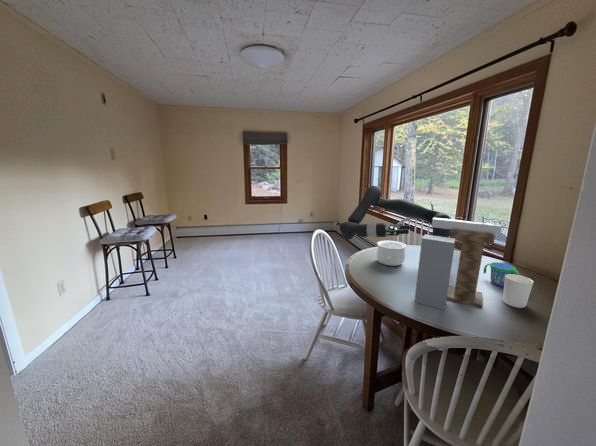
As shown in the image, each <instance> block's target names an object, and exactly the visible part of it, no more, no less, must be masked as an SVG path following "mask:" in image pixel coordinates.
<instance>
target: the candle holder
mask: <svg viewBox="0 0 596 446" xmlns="http://www.w3.org/2000/svg"><path fill="white" fill-rule="evenodd" d="M533 284H534V280H533V279H531V278H529V277H526V276H524V275H521V274H520V275H517V274H516V273H514V274H507V275H505V282H504V286H503V291H502V302H503V303H504V304H506V305H508V306H511V307H514V308H517V309H518V308H519V309H522V308H526V306H527V304H528V301H529V298H530V294H531V291H532V288H533Z"/></svg>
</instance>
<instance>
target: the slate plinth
mask: <svg viewBox="0 0 596 446" xmlns="http://www.w3.org/2000/svg"><path fill="white" fill-rule="evenodd" d="M455 244H456V239H455V238H448V237H441V236H434V235H431V234H424V235H423V236H422V237H421V244H420V253H419V260H418V268H417V276H416V285H415V286H416V287H415V295H414V302H415V303H416V304H420V305H425V306H428V307H431V308H436V309H439V310H442V311H445V309H446V304H447V301H448V300H447V293H448V286H449V285H450V279H451V272H452V266H453V265H452V264H453V258H454V251H455Z"/></svg>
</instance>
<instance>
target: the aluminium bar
mask: <svg viewBox="0 0 596 446" xmlns="http://www.w3.org/2000/svg"><path fill="white" fill-rule="evenodd" d="M433 227H435V228H443V229H451V230H459V231H467V232H475V233H482V234H490V235H494V236H501V234H502V233H501V232H502V227H503V225H502V224H500V223H499V224H497V223H489V222H479V221H470V220H469V221H468V220H460V219H452V218H451V219H444V218H433V221H432V224H431V228H433Z"/></svg>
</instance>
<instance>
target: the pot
mask: <svg viewBox="0 0 596 446" xmlns="http://www.w3.org/2000/svg"><path fill="white" fill-rule="evenodd" d="M376 245H377V246H378V247H377V251H376V259H377V261H378V262H379V263H380V264H382V265H385V266H396V267H397V266H400V265H402V264H403V263H404V261H405V259H406V251H405V249H406V248H407V244H406V243H404V242H401V241H397V240H386V239H385V240H380V241H377V242H376Z"/></svg>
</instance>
